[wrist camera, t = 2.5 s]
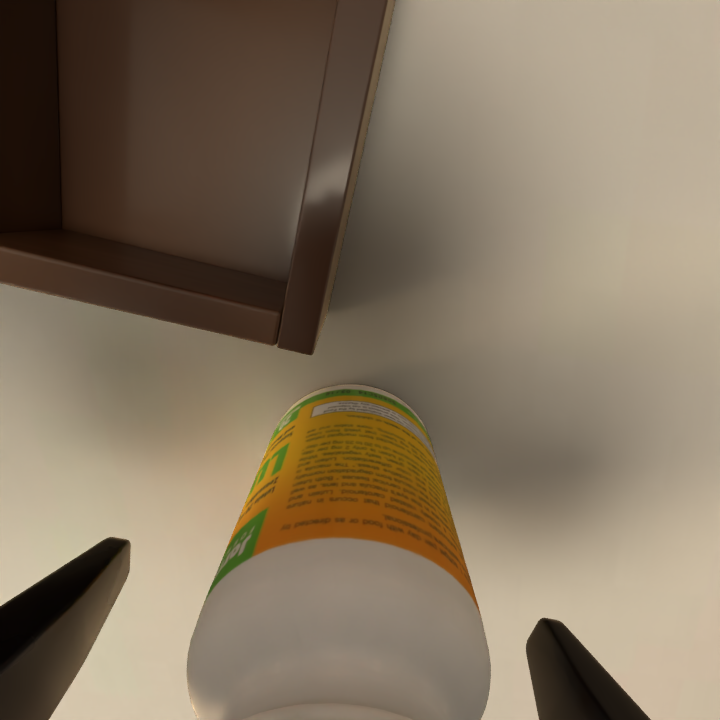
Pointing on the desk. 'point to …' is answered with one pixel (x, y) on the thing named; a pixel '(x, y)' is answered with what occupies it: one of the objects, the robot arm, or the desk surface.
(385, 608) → the supplement bottle
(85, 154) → the organizer
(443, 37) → the desk surface
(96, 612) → the robot arm
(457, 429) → the desk surface
